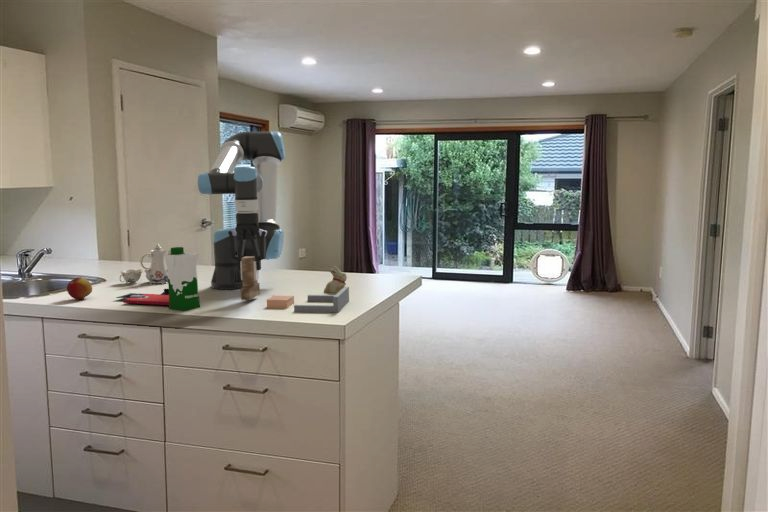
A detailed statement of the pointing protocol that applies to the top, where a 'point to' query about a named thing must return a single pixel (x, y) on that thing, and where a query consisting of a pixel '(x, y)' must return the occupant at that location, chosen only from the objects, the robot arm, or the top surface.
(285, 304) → the salmon square block
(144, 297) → the red board with handle
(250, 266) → the stepped wooden beam
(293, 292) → the top surface
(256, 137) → the robot arm
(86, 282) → the apple
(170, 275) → the milk carton
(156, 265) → the chinaware
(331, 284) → the tan bunny-shaped figure
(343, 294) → the frame
